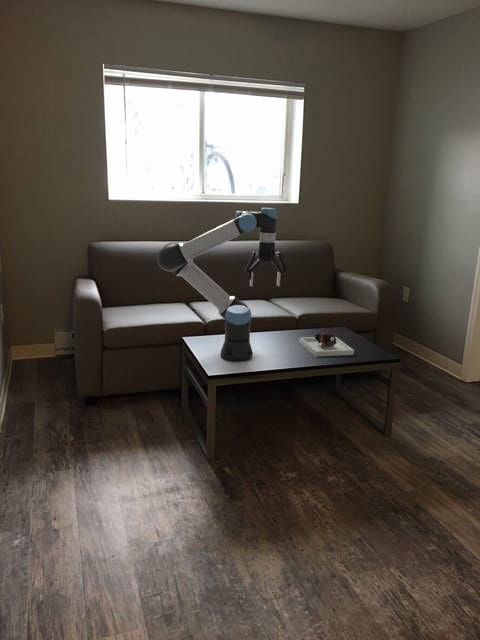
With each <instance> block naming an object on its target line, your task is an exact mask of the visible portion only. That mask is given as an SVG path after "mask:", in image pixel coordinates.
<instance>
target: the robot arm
mask: <svg viewBox="0 0 480 640" xmlns="http://www.w3.org/2000/svg"><path fill="white" fill-rule="evenodd" d="M234 215H235V217H234V219H231V220H229V221H228V222H225V223H224V224H221V225H218V226H217V227H216V228H212V229H211V230H208V231H207V232H204V233H203V234H201V235H199V236H196V237H195V238H193V239H191V240H189V241H187V242H184V243H182V242H179V243H177V242H170V243H167V244H165V245H164V246H162V248H161V249H160V250H159V251H158V253H157V259H156V261H157V264H158V266H159V267H160V268H161V270H163V271H166V272H171V273H173V274H174V275H175V276H176V277H181V278H182V279H184V281H186V282H188V284H190V285H191V287H193V288H194V289H195V290H196V291H197V292H199V294H200V295H202V296H203V297H204V299H206V300H207V301H208V302H210V303H211V304H212V306H214V307H215V308H216V309H217V310H218V315H219V316H221V317H222V318H223V319H224V320H225V326H224V327H225V328H224V341H223V344H222V347H221V348H220V349H221V350H220V358H222V359H223V360H225V361H229V362H236V363H238V362H239V363H240V362H247V361H250V360H252V359H253V356H254V355H253V353H254V352H253V349H252V345H251V341H250V340H251V338H250V337H251V320H252V311H251V309H250V308H249V306H248V305H247V304H246V303H245V302H244V301H242V300H239V298H238V297H236V296H235V295H229V293H227V292H226V291H225V290H224V289H223V288H222V287H221V286H220V285H218V284H217V283H216V282H215V281H214V280H213V279H212V278H211V277H210V276H209V275H207V274H206V273H205V272H204V271H203V270H202V269H201V268H200V267H199V266H197V264H196V263H194V258H196V257H198V256H200V255H203V254H204V253H206V252H208V251H211V250H213V249H214V248H216V247H219V246H221V245H223V244H225V243H226V242H229V241H231V240H234V239H235V238H238V237H239V236H242V235H244V234H246V233H249V232H252V231H253V230H254V229H259V243H258V252H257V251H252V252H251V256H250V258H249V260H248V262H246V265H245V267H244V271H245V272H247V279H248V280H249V286H250V287H253V286H254V285H253V283H254V272H253V271H254V270H256V268H257V267H258V265H259V264H261V263H262V262H269V263H270V262H271V263H272V264H273V265H274V267H275V269H277V272H276V273H277V274H276V286H277V287H280V286H281V285H280V284H281V280H282V279H283V273H285V272H287V268H286V265H285V262H284V261H283V258H282V253H281V252H280V251H276V242H275V241H276V236H277V223H278V210H277V209H276V208H274V207H262V208H261V209H260V211H245V210H237V211H235V213H234ZM257 256H258V258H257V259H256V257H257ZM275 256H276V257H277V260H278V263H279V264H278V263H277V261H276V260H275V258H274V257H275ZM255 259H256V261H255ZM254 261H255V262H254Z"/></svg>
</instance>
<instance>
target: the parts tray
mask: <svg viewBox="0 0 480 640" xmlns="http://www.w3.org/2000/svg"><path fill="white" fill-rule="evenodd" d="M335 337H336V342H337V344H335V345H334V346H332V347H327V348H324V349H322V348H321V345H322V343H318V341H317V340H316V338H315V336H311V337H305V336H304V337H299V342H298V343H300V344H301V345H302V346H303V347H304V348H305V349H306V350H307V351H309V352H310V353H311V354H312V355H313V356H314V357H333V356H335V357H336V356H354V352H355V349H353V348H352V347H350V346H349V345H348V344H346V343H345V342H344V341H342V340H341V339H339V338H338V337H337V336H335ZM330 340H332V341H333V340H334V337H331V339H330Z"/></svg>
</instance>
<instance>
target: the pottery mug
mask: <svg viewBox="0 0 480 640" xmlns="http://www.w3.org/2000/svg"><path fill="white" fill-rule="evenodd" d="M314 337H315V338H316V340H317V341H318V343H322V345H321V348H322V349H324V348H327V347H332V346H334V345H335V344H337V342H336V337H337V336H335V334H333V333H331V332H324V333H322V334H321V333H319V332H317V333H315V335H314ZM331 337H334V340H333V341H332V340H330V339H331Z"/></svg>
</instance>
